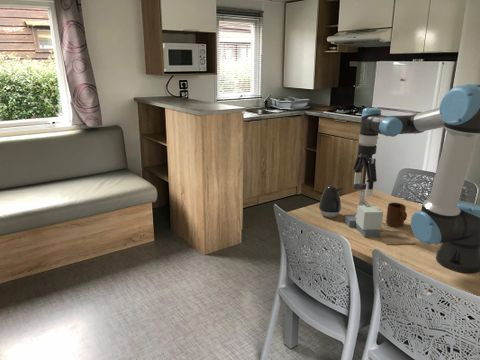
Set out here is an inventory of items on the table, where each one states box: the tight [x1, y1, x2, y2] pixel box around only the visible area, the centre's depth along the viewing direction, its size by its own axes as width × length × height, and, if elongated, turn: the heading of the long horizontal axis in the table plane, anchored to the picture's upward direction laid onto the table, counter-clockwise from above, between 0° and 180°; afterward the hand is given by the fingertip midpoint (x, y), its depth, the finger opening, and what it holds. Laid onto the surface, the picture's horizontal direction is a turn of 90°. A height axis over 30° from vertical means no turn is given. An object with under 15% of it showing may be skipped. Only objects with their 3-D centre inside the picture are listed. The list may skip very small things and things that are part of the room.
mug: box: [385, 202, 408, 228], centre depth 172 cm, size 12×8×9 cm, turn 6°
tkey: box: [353, 183, 371, 206], centre depth 169 cm, size 8×8×15 cm
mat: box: [378, 230, 416, 246], centre depth 161 cm, size 12×12×1 cm
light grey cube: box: [356, 204, 384, 231], centre depth 164 cm, size 8×8×8 cm
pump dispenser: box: [318, 185, 344, 219], centre depth 183 cm, size 10×10×15 cm
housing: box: [343, 213, 381, 238], centre depth 170 cm, size 18×12×4 cm, turn 5°
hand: (362, 190), depth 171 cm, fingers open, 13 cm apart
